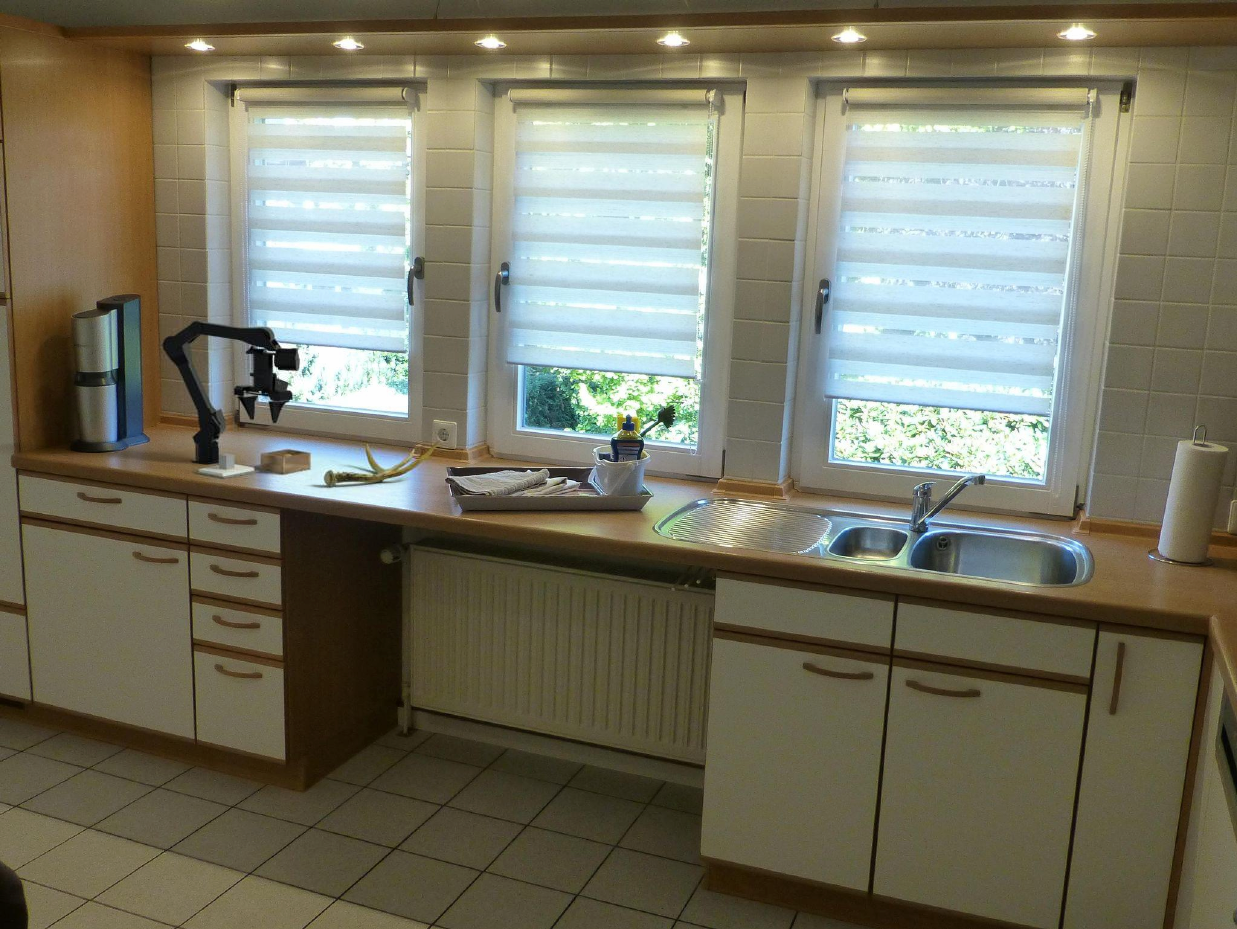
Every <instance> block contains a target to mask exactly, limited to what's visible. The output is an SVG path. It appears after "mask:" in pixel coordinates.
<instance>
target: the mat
mask: <svg viewBox="0 0 1237 929" xmlns="http://www.w3.org/2000/svg"><path fill="white" fill-rule="evenodd" d="M256 472H257V473H260V470H257V469H254V471H249V472H244V473H239V474H233V475H228V476H218V475H213V474H208V473H202V472H199V470H197V471H194V474H197V473H198V474H199V475H202V476H206V477H212V476H214V477H213V478H218V479H223V478H226V479H230V477H231V478H235V477H234V476H236V477H241V476H240V475H242V476H247V475H250V474H249V473H252V474H257V473H256ZM246 474H247V475H246Z"/></svg>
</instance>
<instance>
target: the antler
mask: <svg viewBox="0 0 1237 929" xmlns="http://www.w3.org/2000/svg"><path fill="white" fill-rule="evenodd" d="M440 443H441V440H439V441H437V442H436V443H435V444H433V445H432V446H431V447H430V448H429V449H428V450H427V451H426V452H425V453H424V454H422V455H421V456H419V458H417V459H415V460H414V461H413V462H411V463H410V464H408V463H409V462H410V461H411V460H412V458H413V456H414V453H415V451H416V450H415V448H412V450H411V451H410V453H409V455H408V456H407V457H406V458H405V459H404V460H402V461H401V462H399V463H397V464H396V465H394V466H392V467H391V468H388V469H387V468H383V467H381V466H380V465H379V464H378V463H377V462H376V461H375V459H374V457H373V455H372V453H371V451H370V447H369V444H368V443H366V445H365V455H366V457H367V461H368V463H369V467H371V469H372V470H373V471H374V472H375V474H372V473H370V474H369V473H360V472H354V471H351V472H348V471H342V472H339V471H337V472H334V471H333V470H332V469H329V470H327V471H326V472H325V474H324V475H323V481H324V483H325V485H327V487H330V488H332V487H334V486H336V485H337V484H342V483H378V482H381V481H384V480H388V479H393V478H397V477H401V476H403V475H406V474H407V473H408V472H410V471H412V470H414V469H415V468H417V466H419V465H420V464H422V462H424V461H426V459H427V458H428V457H430V456H431V454H432V453H433V452H434V451H435V449H437V447H438V446H439V444H440ZM405 465H407V466H405Z"/></svg>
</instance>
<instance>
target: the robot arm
mask: <svg viewBox="0 0 1237 929" xmlns="http://www.w3.org/2000/svg"><path fill="white" fill-rule="evenodd" d="M201 335H202V336H207V337H208V336H209V337H216V338H222V339H230V340H236V341H241V342H242V343H245V344H248V345H250V347H249V349H247V350H246V351H245V352H244V353H245V354H246V355H252V372H250V373H249V377H251V378H252V384H239V385H236V386H235V387H234V388H233V395H234V396H236V398H237V399H238V401H240V402H241V404H242V406H243V407H244V410H245V412H246V414H247V416H248V418H249V419H250V420H251V421H252V420H255V415H256V414H255V412H256V411H255V410H256V401H257V399H258V397H259V396H261V397H268V399H270V400H268V407H269V411H270V417H271V421H272V424H277V422H278V420H279V416H280V414H281V413H282V412H281V411H282V409H283V408H284V407H285V405H286V404H287V403H289V402H290V401H292V400H294V398H293V396H294V395H293V391H292V390H289V389H288V387H289V382H288V381H286V380H284V379H280V378H278V375H277V372H274V367H275V368H277V370H278V371H285V372H286V371H290V372H298V371H299V370H300V364H301V358H300V355H299V348H298V347H291V348H290V347H289V348H287V347H282V346H281V344H280V343H279V342H278V340H277V339H276V338H275V333H274V330H272V328H270V327H269V326H249V327H248V326H247V327H246V326H245V327H244V326H243V327H242V326H235V325H230V324H229V325H228V324H221V323H215V322H210V321H209V322H208V321H203V320H200V319H199V320H195V321H194V320H193V321H192V322H190V324H189V325H188V326H187V327H185V328H184V329H181V330H180V331H178V332H177V333H176V334H173V335H169V336H167V337H165V338H164V339H163V341H162V349H163V351H164V352H165V353H164V354H166V356H167V357H168V359H169V360H170V361H171V362H172V363H173V364H174V365H175V366H176V367H177V369H178V372H179V374H180V375H181V378H182V380H183V382H184V385H185V388H186V389H187V391H188V394H189V396H190V397H191V400H192V402H193V404H194V407H195V409H196V410H197V420H198V424H199V425H198V426H199V429H200V430H198V431H197V432H196V433H195V434H194V435H193V436H192V440H193V442H194V444H195V445H194V446H195V451H194V452H195V459H191V460H190V461H191V462H192V463H197V464H203V465H209V464H215V463H219V455H220V447H219V441H218V440H220V436H221V435H222V434H224V433H225V431H226V429H227V424H226V422H227V419H226V418H225V416H224V413H223V410H222V408H220V409H218V410H217V409H216V408H215V407H214V406H213V405H212V403H211V401H210V400H211V399H209V396H208V394H207V391H206V389H205V387H204V384H203V383H202V381H201V378H200V376H199V374H198V372H197V369H196V367H195V365H194V362H193V354H192V348H191V344H192V343H194V341H196V340H197V339H198V338H199V337H200V336H201Z"/></svg>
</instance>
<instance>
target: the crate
mask: <svg viewBox="0 0 1237 929" xmlns="http://www.w3.org/2000/svg"><path fill="white" fill-rule="evenodd" d="M311 453H312V452H308V451H302V450H297V449H290V448H286V449H281V450H274V451H268V452H264V453H260V471H261V470H263V471H262V472H266V473H274V474H277V473H279V474H278V475H283V476H284V475H289V474H294V473H298V472H303V470H304V471H309V470H311V469H312V467H311V466H312V464H311V463H312V462H311V455H312V454H311Z"/></svg>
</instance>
